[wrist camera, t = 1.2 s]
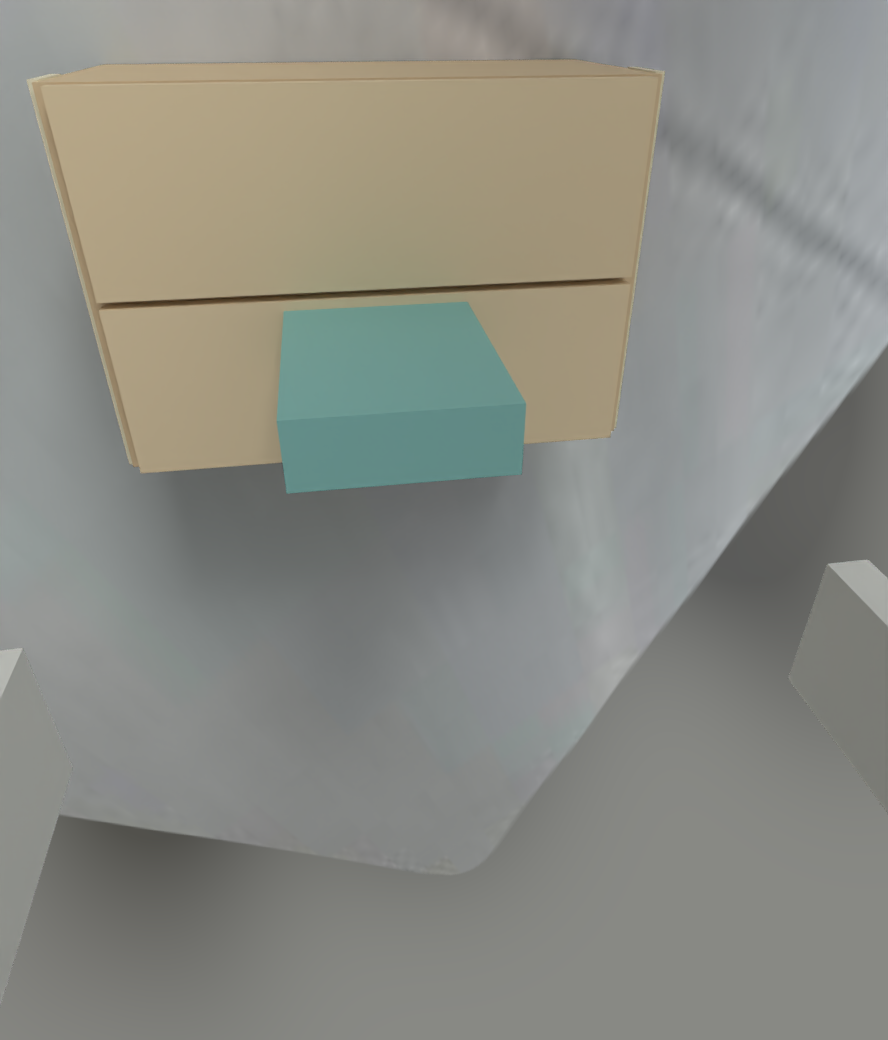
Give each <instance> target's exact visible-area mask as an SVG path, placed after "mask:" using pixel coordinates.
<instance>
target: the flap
mask: <svg viewBox="0 0 888 1040" xmlns="http://www.w3.org/2000/svg"><path fill="white" fill-rule="evenodd" d="M630 285H631V284H630V283H628V282H627V281H626V280H625V279H621V280H601V281H580V282H560V283H540V284H519V285H499V286H479V287H459V288H438V289H418V290H398V291H377V292H357V293H337V294H317V295H296V296H276V297H256V298H236V299H215V300H195V301H175V302H154V303H134V304H114V305H103V306H102V307H101V309H100V310H99V314H100V318H101V321H102V325H103V329H104V333H105V337H106V341H107V345H108V348H109V352H110V356H111V360H112V364H113V368H114V372H115V375H116V379H117V383H118V387H119V391H120V395H121V398H122V402H123V406H124V410H125V414H126V418H127V422H128V425H129V429H130V433H131V437H132V441H133V445H134V449H135V452H136V456H137V460H138V464H139V468H140V472H141V473H153V472H166V471H179V470H192V469H205V468H218V467H231V466H244V465H257V464H270V463H282V464H283V471H284V478H285V485H286V493H287V494H288V493H300V492H313V491H325V490H337V489H349V488H361V487H374V486H386V485H398V484H410V483H423V482H435V481H447V480H459V479H471V478H484V477H496V476H508V475H520V474H522V463H523V447H524V444H531V443H544V442H557V441H570V440H583V439H596V438H609V437H610V435H611V428H612V420H613V413H614V405H615V398H616V390H617V383H618V375H619V368H620V360H621V353H622V345H623V338H624V330H625V323H626V315H627V308H628V300H629V293H630Z"/></svg>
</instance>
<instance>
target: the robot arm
mask: <svg viewBox="0 0 888 1040" xmlns="http://www.w3.org/2000/svg"><path fill="white" fill-rule="evenodd" d="M788 679H789V681H790V682H791V683H792V685H793V686H794V687H795V689H796V690H797V691H798V693H799V694H800V695H801V697H802V698H803V700H804V701H805V702H806V704H807V705H808V706H809V708H810V709H811V710H812V712H813V713H814V714H815V716H816V717H817V718H818V720H819V721H820V722H821V724H822V725H823V727H824V728H825V729H826V731H827V732H828V733H829V735H830V736H831V737H832V739H833V740H834V741H835V743H836V744H837V745H838V747H839V748H840V749H841V751H842V752H843V754H844V755H845V756H846V757H847V759H848V760H849V761H850V763H851V764H852V766H853V767H854V768H855V770H856V771H857V772H858V774H859V775H860V776H861V778H862V779H863V781H864V782H865V783H866V785H867V786H868V787H869V789H870V790H871V791H872V793H873V794H874V795H875V797H876V798H877V799H878V801H879V802H880V804H881V805H882V806H883V807H884V809H885V810H886V812H887V813H888V578H887V577H886V576H885V575H884V574H882V573H881V572H880V571H879V570H878V569H877V568H876V567H875V566H874V565H873V564H872V563H871V562H870V561H869V560H860V561H850V562H842V563H831V564H827V566H826V569H825V572H824V575H823V578H822V581H821V584H820V587H819V590H818V593H817V595H816V598H815V601H814V605H813V607H812V610H811V613H810V616H809V619H808V622H807V625H806V628H805V631H804V634H803V636H802V639H801V642H800V646H799V648H798V651H797V654H796V657H795V660H794V663H793V666H792V668H791V672H790V674H789V678H788ZM72 770H73V767H72V764H71V762H70V759H69V757H68V755H67V752H66V750H65V747H64V745H63V743H62V740H61V738H60V735H59V733H58V731H57V728H56V726H55V724H54V721H53V719H52V716H51V714H50V712H49V709H48V707H47V704H46V702H45V700H44V697H43V695H42V693H41V690H40V688H39V685H38V683H37V681H36V678H35V676H34V673H33V671H32V669H31V666H30V664H29V662H28V659H27V657H26V654H25V652H24V650H23V648H19V649H10V650H0V1005H1V1002H2V999H3V995H4V992H5V989H6V985H7V982H8V979H9V976H10V973H11V969H12V966H13V963H14V960H15V956H16V953H17V950H18V947H19V943H20V940H21V937H22V933H23V930H24V927H25V923H26V920H27V917H28V914H29V910H30V907H31V904H32V901H33V897H34V894H35V891H36V887H37V884H38V881H39V878H40V874H41V871H42V868H43V865H44V861H45V858H46V855H47V852H48V848H49V845H50V842H51V838H52V835H53V832H54V829H55V825H56V822H57V819H58V816H59V812H60V809H61V806H62V802H63V799H64V796H65V793H66V789H67V786H68V783H69V780H70V776H71V773H72Z"/></svg>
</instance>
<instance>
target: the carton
mask: <svg viewBox="0 0 888 1040" xmlns="http://www.w3.org/2000/svg"><path fill="white" fill-rule="evenodd" d="M664 75H665V71H660V70H654V69H647V68H641V67H628V68H624V67H618V66H612V65H606V64H600V63H594V62H587V61H581V60H575V59H557V60H465V61H374V62H282V63H190V64H103V65H99V66H95V67H91V68H87V69H83V70H79V71H75V72H71V73H67V74H63V75H61V74H48V75H44V76H40V77H36V78H32V79H27V83H28V87H29V91H30V95H31V98H32V102H33V106H34V110H35V113H36V117H37V121H38V125H39V128H40V132H41V136H42V140H43V143H44V147H45V151H46V154H47V158H48V162H49V166H50V169H51V173H52V177H53V181H54V184H55V188H56V192H57V196H58V199H59V203H60V207H61V210H62V214H63V218H64V222H65V225H66V229H67V233H68V237H69V240H70V244H71V248H72V252H73V255H74V259H75V263H76V266H77V270H78V274H79V278H80V281H81V285H82V289H83V293H84V296H85V300H86V304H87V308H88V311H89V315H90V319H91V322H92V326H93V330H94V334H95V337H96V341H97V345H98V349H99V352H100V356H101V360H102V364H103V367H104V371H105V375H106V379H107V382H108V386H109V390H110V393H111V397H112V401H113V405H114V408H115V412H116V416H117V420H118V423H119V427H120V431H121V435H122V438H123V442H124V446H125V449H126V453H127V457H128V461H129V464H130V465H131V464H133V467H139V464H138V460H137V456H136V452H135V449H134V445H133V441H132V437H131V433H130V429H129V425H128V422H127V418H126V414H125V410H124V406H123V402H122V398H121V395H120V391H119V387H118V383H117V379H116V375H115V372H114V368H113V364H112V360H111V356H110V352H109V348H108V345H107V341H106V337H105V333H104V329H103V325H102V321H101V318H100V314H99V310H100V309H101V307H102V306H103V305H114V304H134V303H154V302H175V301H195V300H215V299H236V298H256V297H276V296H296V295H317V294H337V293H357V292H377V291H398V290H418V289H438V288H459V287H479V286H499V285H519V284H540V283H560V282H580V281H601V280H621V279H625V280H626V281H627V282H628V283H630V284H631V285H630V293H629V300H628V308H627V315H626V323H625V330H624V338H623V345H622V353H621V360H620V368H619V375H618V383H617V390H616V398H615V405H614V413H613V420H612V428H611V431H614V428H616V424H617V416H618V409H619V402H620V395H621V387H622V380H623V373H624V366H625V358H626V351H627V344H628V336H629V329H630V322H631V315H632V307H633V300H634V293H635V286H636V278H637V271H638V264H639V257H640V249H641V242H642V235H643V228H644V220H645V213H646V206H647V199H648V191H649V184H650V177H651V170H652V162H653V155H654V148H655V141H656V133H657V126H658V119H659V111H660V104H661V97H662V90H663V82H664Z"/></svg>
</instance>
